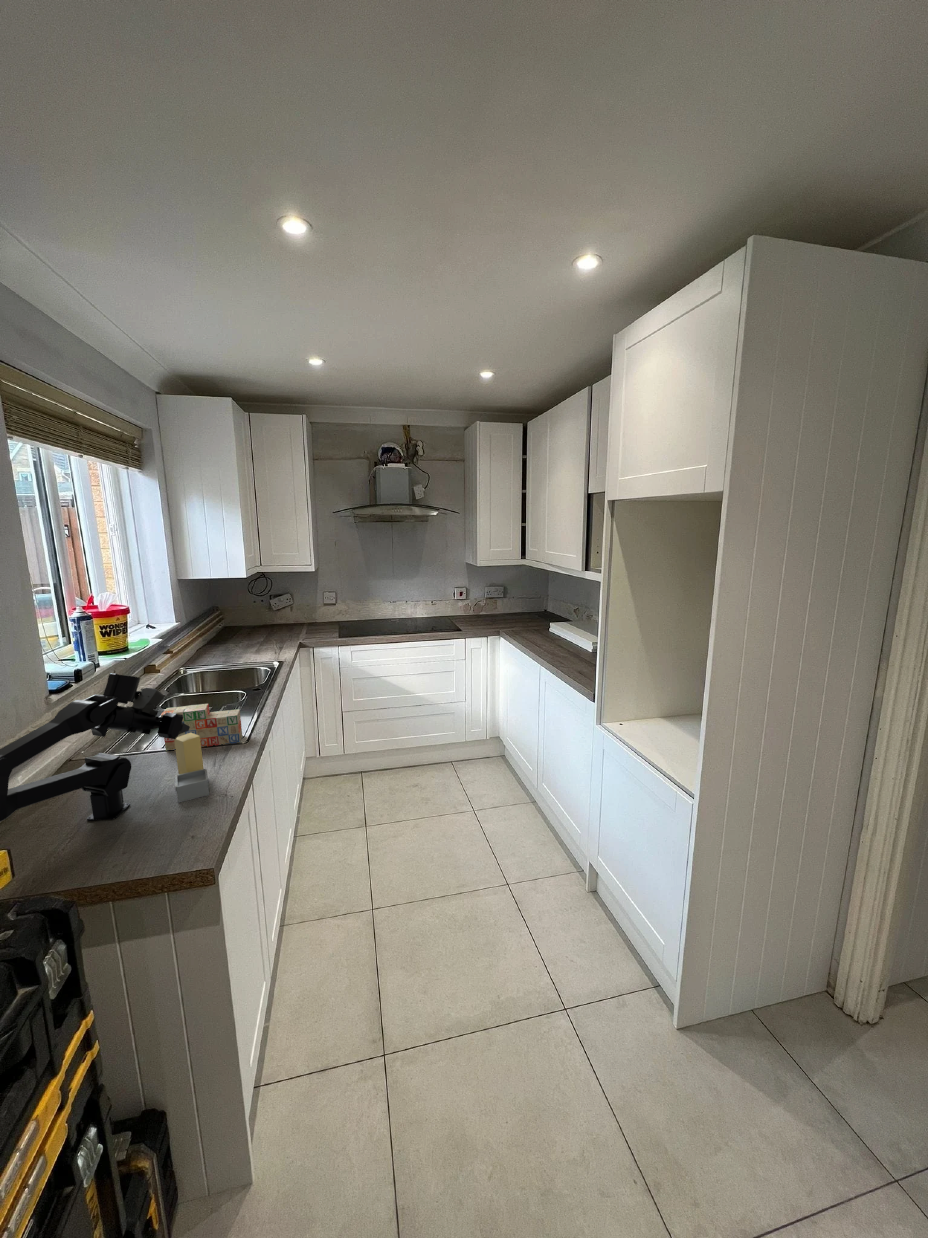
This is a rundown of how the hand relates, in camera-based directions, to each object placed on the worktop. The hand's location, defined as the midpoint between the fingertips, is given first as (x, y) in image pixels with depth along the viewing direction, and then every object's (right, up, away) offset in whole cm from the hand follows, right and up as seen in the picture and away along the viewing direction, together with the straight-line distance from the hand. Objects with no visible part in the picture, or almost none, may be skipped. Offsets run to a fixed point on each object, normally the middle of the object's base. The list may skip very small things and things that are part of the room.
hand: (176, 726), depth 137 cm
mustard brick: (+5, -14, 0) cm, 15 cm away
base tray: (+9, -15, -8) cm, 20 cm away
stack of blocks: (-4, -11, +23) cm, 25 cm away
